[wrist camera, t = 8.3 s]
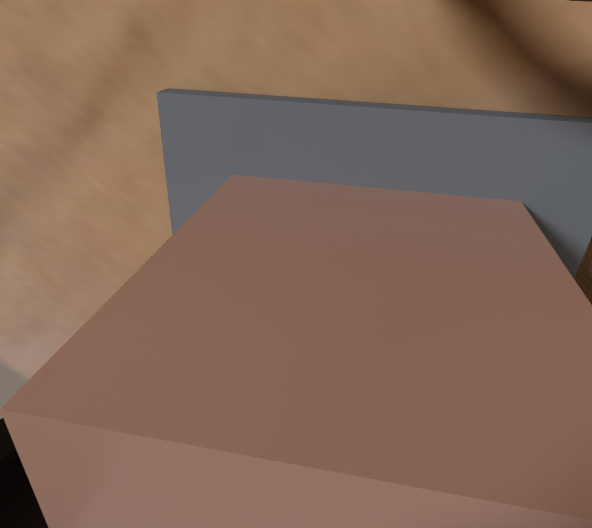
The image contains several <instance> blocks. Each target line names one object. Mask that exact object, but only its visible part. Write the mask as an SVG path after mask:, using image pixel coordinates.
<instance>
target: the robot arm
mask: <svg viewBox="0 0 592 528" xmlns="http://www.w3.org/2000/svg"><path fill="white" fill-rule="evenodd" d="M0 528H49V527H48V525H47V523H46V520H45V518H44V515H43V513H42V510H41V508H40V506H39V503H38V501H37V498H36V496H35V493H34V491H33V489H32V486H31V484H30V481H29V479H28V477H27V474H26V472H25V469H24V467H23V464H22V462H21V460H20V457H19V455H18V452H17V450H16V447H15V445H14V443H13V440H12V438H11V435H10V433H9V430H8V428H7V426H6V423H5V421H4V418H2V419H0Z"/></svg>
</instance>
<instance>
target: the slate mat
mask: <svg viewBox="0 0 592 528" xmlns="http://www.w3.org/2000/svg"><path fill="white" fill-rule="evenodd" d="M157 100H158V109H159V118H160V127H161V136H162V144H163V153H164V162H165V171H166V180H167V189H168V198H169V207H170V216H171V225H172V234H174V233H175V232H176V231H177V230H178V229H179V228H180V227H181V226H182V225H183V224H184V223H185V222H186V221H187V220H188V219H189V218H190V217H191V216H192V215H193V214H194V213H195V212H196V211H197V210H198V209H199V208H200V207H201V206H202V205H203V204H204V203H205V202H206V201H207V200H208V199H209V198H210V197H211V196H212V195H213V194H214V193H215V192H216V191H217V190H218V189H219V188H220V187H221V186H222V185H223V184H224V183H225V182H226V181H227V180H228V179H229V178H230V177H231V176H232V175H243V176H254V177H265V178H276V179H286V180H297V181H308V182H319V183H330V184H340V185H351V186H362V187H373V188H383V189H394V190H405V191H416V192H427V193H437V194H448V195H459V196H470V197H480V198H491V199H502V200H513V201H521V202H522V203H523V205H524V206H525V208H526V209H527V211H528V212H529V214H530V215H531V217H532V218H533V219H534V221H535V222H536V224H537V225H538V227H539V228H540V230H541V231H542V233H543V234H544V236H545V237H546V239H547V240H548V242H549V243H550V245H551V246H552V247H553V249H554V250H555V252H556V253H557V255H558V256H559V258H560V259H561V261H562V262H563V264H564V265H565V267H566V268H567V270H568V271H569V272H570V274H571V275H572V277H573V278H574V280H575V277H576V275H577V272H578V270H579V267H580V265H581V262H582V260H583V257H584V255H585V252H586V250H587V247H588V245H589V242H590V240H591V237H592V118H587V117H572V116H558V115H543V114H529V113H515V112H500V111H486V110H471V109H457V108H443V107H428V106H414V105H399V104H385V103H370V102H356V101H342V100H327V99H313V98H298V97H284V96H270V95H255V94H241V93H226V92H212V91H197V90H183V89H169V88H168V89H165V90H162V91H159V92H157Z"/></svg>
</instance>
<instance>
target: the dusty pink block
mask: <svg viewBox="0 0 592 528" xmlns="http://www.w3.org/2000/svg"><path fill="white" fill-rule="evenodd" d="M0 411H1V413H2V416H3V418H4V421H5V423H6V426H7V428H8V430H9V433H10V435H11V438H12V440H13V443H14V445H15V447H16V450H17V452H18V455H19V457H20V460H21V462H22V464H23V467H24V469H25V472H26V474H27V477H28V479H29V481H30V484H31V486H32V489H33V491H34V493H35V496H36V498H37V501H38V503H39V506H40V508H41V510H42V513H43V515H44V518H45V520H46V523H47V525H48V527H49V528H592V305H591V303H590V302H589V300H588V299H587V298H586V296H585V295H584V293H583V292H582V290H581V289H580V287H579V286H578V284H577V283H576V281H575V280H574V278H573V277H572V275H571V274H570V272H569V271H568V270H567V268H566V267H565V265H564V264H563V262H562V261H561V259H560V258H559V256H558V255H557V253H556V252H555V250H554V249H553V247H552V246H551V245H550V243H549V242H548V240H547V239H546V237H545V236H544V234H543V233H542V231H541V230H540V228H539V227H538V225H537V224H536V222H535V221H534V219H533V218H532V217H531V215H530V214H529V212H528V211H527V209H526V208H525V206H524V205H523V203H522V202H521V201H513V200H502V199H491V198H480V197H470V196H459V195H448V194H437V193H427V192H416V191H405V190H394V189H383V188H373V187H362V186H351V185H340V184H330V183H319V182H308V181H297V180H286V179H276V178H265V177H254V176H243V175H232V176H231V177H230V178H229V179H228V180H227V181H226V182H225V183H224V184H223V185H222V186H221V187H220V188H219V189H218V190H217V191H216V192H215V193H214V194H213V195H212V196H211V197H210V198H209V199H208V200H207V201H206V202H205V203H204V204H203V205H202V206H201V207H200V208H199V209H198V210H197V211H196V212H195V213H194V214H193V215H192V216H191V217H190V218H189V219H188V220H187V221H186V222H185V223H184V224H183V225H182V226H181V227H180V228H179V229H178V230H177V231H176V232H175V233H174V234H173V235H172V236H171V237H170V238H169V239H168V240H167V241H166V242H165V243H164V244H163V245H162V246H161V247H160V248H159V249H158V250H157V252H156V253H155V254H154V255H153V256H152V257H151V258H150V259H149V260H148V261H147V262H146V263H145V264H144V265H143V266H142V267H141V268H140V269H139V270H138V271H137V272H136V273H135V274H134V275H133V276H132V277H131V278H130V279H129V280H128V281H127V282H126V283H125V284H124V285H123V286H122V287H121V288H120V289H119V290H118V291H117V292H116V293H115V294H114V295H113V296H112V297H111V298H110V299H109V300H108V301H107V302H106V303H105V304H104V305H103V306H102V307H101V308H100V309H99V310H98V311H97V312H96V313H95V314H94V315H93V316H92V317H91V318H90V319H89V320H88V321H87V322H86V323H85V324H84V325H83V326H82V327H81V328H80V329H79V330H78V331H77V332H76V333H75V334H74V335H73V336H72V337H71V338H70V339H69V340H68V341H67V342H66V343H65V344H64V345H63V346H62V347H61V348H60V349H59V350H58V351H57V352H56V353H55V354H54V355H53V356H52V357H51V358H50V359H49V360H48V361H47V362H46V363H45V365H44V366H43V367H42V368H41V369H40V370H39V371H38V372H37V373H36V374H35V375H34V376H33V377H32V378H31V379H30V380H29V381H28V382H27V383H26V384H25V385H24V386H23V387H22V388H21V389H20V390H19V391H18V392H17V393H16V394H15V395H14V396H13V397H12V398H11V399H10V400H9V401H8V402H7V403H6V404H5V405H4V406H3V407H2V408H1V409H0Z"/></svg>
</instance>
